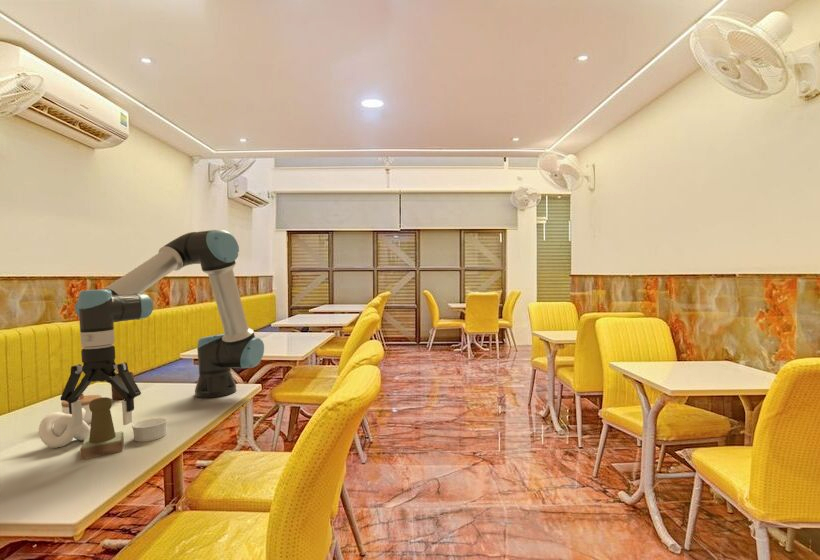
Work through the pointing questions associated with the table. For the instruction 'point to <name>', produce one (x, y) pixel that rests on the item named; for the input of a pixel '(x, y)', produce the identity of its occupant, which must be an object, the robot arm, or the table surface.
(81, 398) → the lidded jar
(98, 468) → the table surface
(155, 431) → the ramekin
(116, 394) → the mug
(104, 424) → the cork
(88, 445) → the stand
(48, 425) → the white decorative knot
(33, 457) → the table surface
